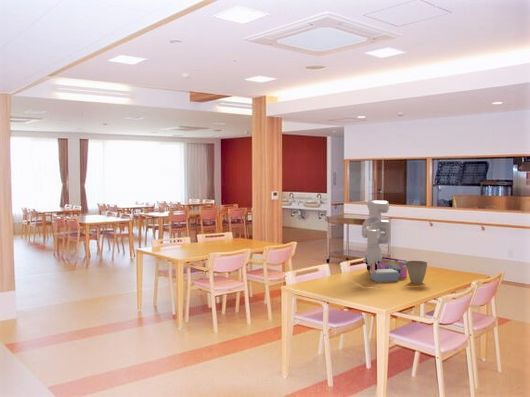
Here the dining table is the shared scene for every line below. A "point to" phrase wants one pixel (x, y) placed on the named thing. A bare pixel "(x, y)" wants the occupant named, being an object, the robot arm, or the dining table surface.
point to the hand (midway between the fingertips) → (372, 269)
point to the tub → (384, 277)
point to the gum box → (394, 266)
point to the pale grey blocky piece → (380, 270)
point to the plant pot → (416, 271)
